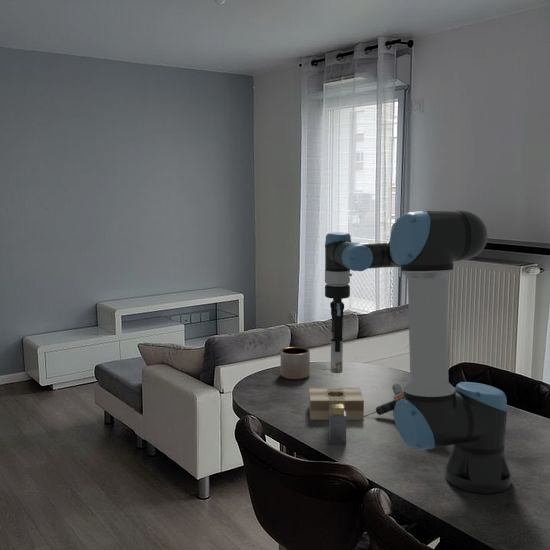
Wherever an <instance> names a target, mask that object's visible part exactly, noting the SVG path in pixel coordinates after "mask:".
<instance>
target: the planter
mask: <svg viewBox="0 0 550 550" xmlns="http://www.w3.org/2000/svg"><path fill="white" fill-rule="evenodd" d="M310 352H311V351H310V349H308V348H306V347H303V346H302V347H301V346H288V347H284V348H282V349H280V366H279V367H280V371H279V372H280V373H279V374H280V376H281V377H282V378H284V379H287V380H295V381H296V380H297V381H299V380H303V379H306V378H309V377H310V375H311V362H310V361H311V358H310V357H311V356H310V354H311V353H310Z"/></svg>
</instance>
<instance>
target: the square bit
mask: <svg viewBox="0 0 550 550" xmlns="http://www.w3.org/2000/svg"><path fill="white" fill-rule="evenodd" d="M328 438H329V439H328V440H329V444H331V445H346V444H347V420H346V412H345V410H344V406H343V404H332V410H329V420H328Z"/></svg>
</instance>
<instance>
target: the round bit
mask: <svg viewBox="0 0 550 550" xmlns="http://www.w3.org/2000/svg"><path fill="white" fill-rule="evenodd" d="M331 339H333V333H332V332H331ZM343 343H344V342H342V362H333V341H330V373H332V374H341V373H343V357H344V356H343V352H344V351H343V349H344V345H343Z"/></svg>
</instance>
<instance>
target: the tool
mask: <svg viewBox="0 0 550 550" xmlns="http://www.w3.org/2000/svg"><path fill="white" fill-rule="evenodd" d="M392 390H393V393H394V395H393V396H392V397H393V400H392V401H388V402H385V403H383V404H381V405H379V406H377V407H376V408H375V411H374V412H371V413H369V414H366V415H364V418H365V417H367V416H370V415H373V414H375V413H377V415H379V416H381V415H384V414H387V413H389V412H391V411H394V407H395V405H396V402H397V401H399V400H400V399H404V391H403V390H402V387H401V384H399V383H394V384H393V385H392Z"/></svg>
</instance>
